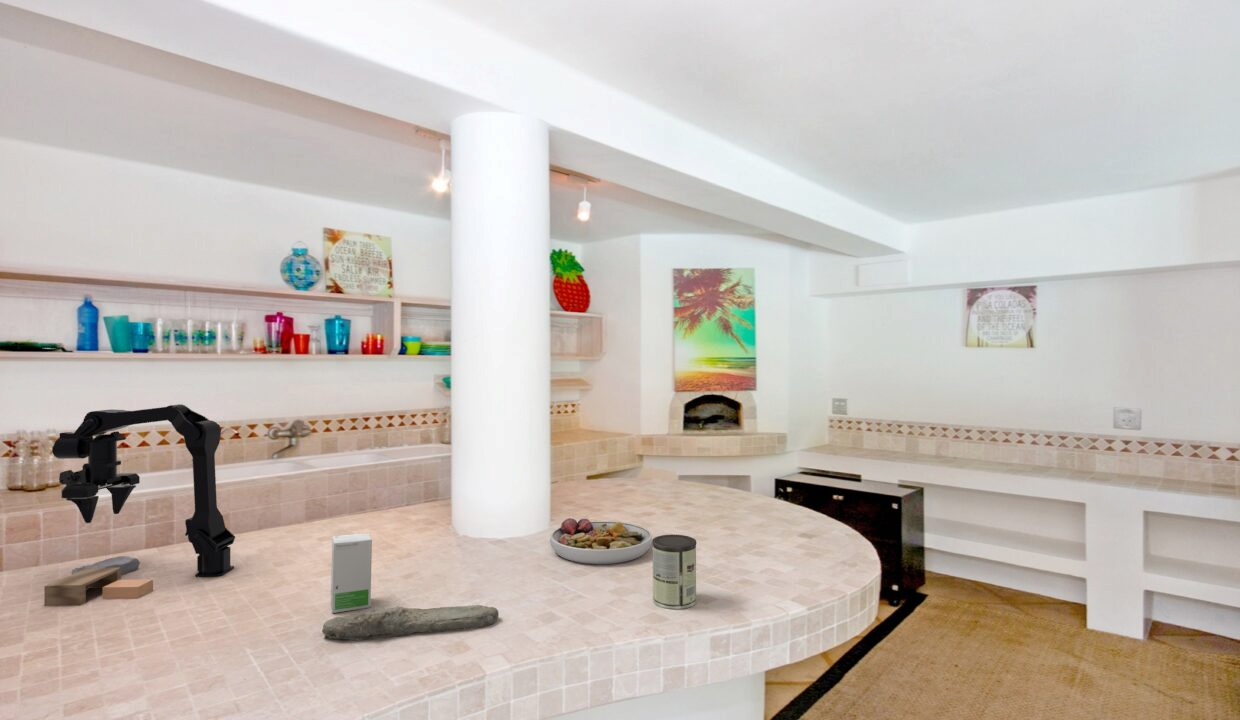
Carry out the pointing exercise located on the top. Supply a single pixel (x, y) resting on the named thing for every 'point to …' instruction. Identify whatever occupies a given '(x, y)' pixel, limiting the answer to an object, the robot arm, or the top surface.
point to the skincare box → (351, 572)
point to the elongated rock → (408, 621)
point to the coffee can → (674, 571)
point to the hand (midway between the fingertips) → (102, 518)
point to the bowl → (600, 541)
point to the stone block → (114, 564)
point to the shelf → (79, 585)
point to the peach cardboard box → (127, 589)
